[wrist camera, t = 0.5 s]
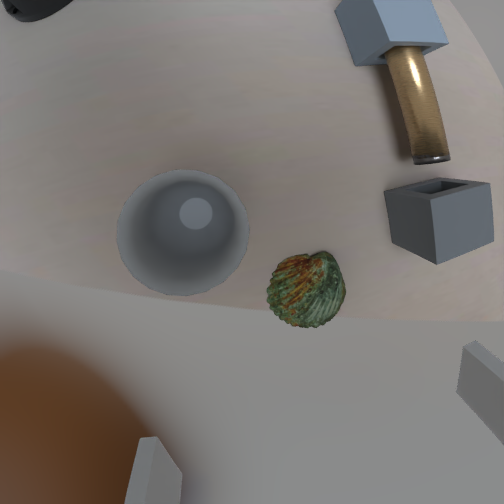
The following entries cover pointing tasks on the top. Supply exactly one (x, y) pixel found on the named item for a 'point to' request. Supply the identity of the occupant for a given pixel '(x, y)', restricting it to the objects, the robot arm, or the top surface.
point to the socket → (441, 217)
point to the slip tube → (418, 104)
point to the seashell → (307, 290)
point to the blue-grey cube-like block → (388, 27)
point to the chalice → (182, 232)
